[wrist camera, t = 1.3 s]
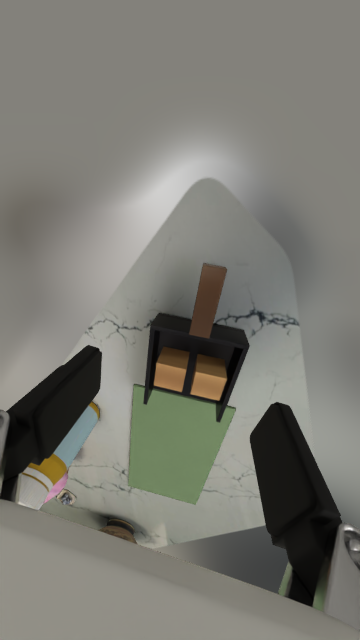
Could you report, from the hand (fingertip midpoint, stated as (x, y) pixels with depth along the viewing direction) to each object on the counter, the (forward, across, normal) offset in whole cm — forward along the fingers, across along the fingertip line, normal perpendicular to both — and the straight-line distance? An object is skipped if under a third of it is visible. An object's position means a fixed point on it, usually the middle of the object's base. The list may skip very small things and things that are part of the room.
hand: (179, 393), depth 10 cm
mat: (+15, -4, +35) cm, 39 cm away
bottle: (+16, +16, +29) cm, 36 cm away
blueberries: (+15, +22, +73) cm, 78 cm away
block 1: (+15, +1, +10) cm, 18 cm away
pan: (+16, -1, +6) cm, 17 cm away
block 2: (+15, -4, +9) cm, 18 cm away
